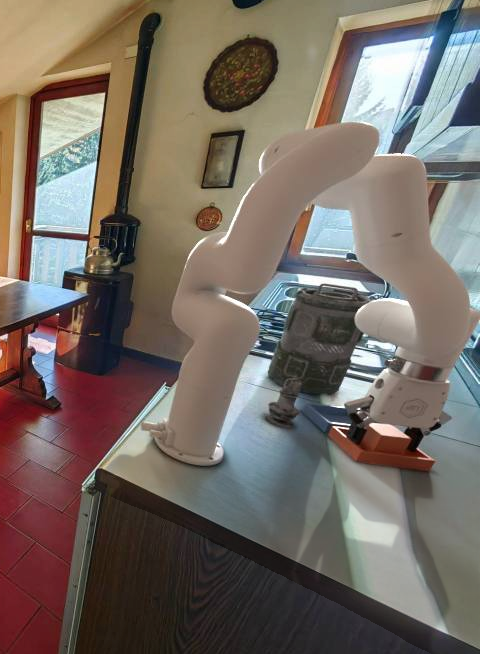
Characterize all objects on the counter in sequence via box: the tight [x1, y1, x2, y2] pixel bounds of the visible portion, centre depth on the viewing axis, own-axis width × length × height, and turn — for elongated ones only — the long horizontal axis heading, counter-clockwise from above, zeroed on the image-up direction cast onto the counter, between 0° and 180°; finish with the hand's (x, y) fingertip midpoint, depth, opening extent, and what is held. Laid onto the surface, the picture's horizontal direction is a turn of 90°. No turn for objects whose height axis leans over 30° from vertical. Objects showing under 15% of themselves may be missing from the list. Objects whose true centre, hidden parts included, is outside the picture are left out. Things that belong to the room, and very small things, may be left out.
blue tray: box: [301, 402, 382, 434], centre depth 89 cm, size 12×9×2 cm
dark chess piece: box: [264, 376, 302, 429], centre depth 89 cm, size 6×6×12 cm
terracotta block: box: [359, 423, 411, 455], centre depth 79 cm, size 5×5×5 cm
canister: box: [267, 283, 375, 396], centre depth 104 cm, size 16×16×28 cm
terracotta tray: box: [327, 426, 436, 472], centre depth 80 cm, size 12×9×2 cm
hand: (379, 444), depth 80 cm, fingers open, 8 cm apart
